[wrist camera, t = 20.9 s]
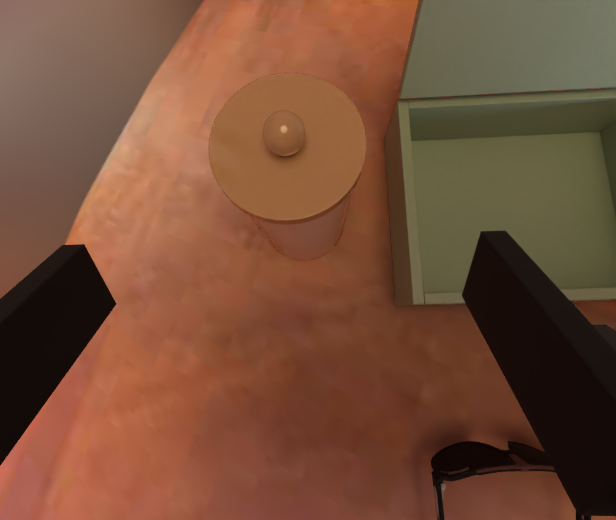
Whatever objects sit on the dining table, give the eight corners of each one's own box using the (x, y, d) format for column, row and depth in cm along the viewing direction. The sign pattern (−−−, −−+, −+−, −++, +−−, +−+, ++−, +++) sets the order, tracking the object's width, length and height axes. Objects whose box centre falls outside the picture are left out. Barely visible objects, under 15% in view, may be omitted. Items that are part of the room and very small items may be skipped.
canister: (325, 168, 31) (327, 16, 15) (361, 242, 29) (403, 162, 14) (249, 201, 30) (168, 83, 15) (281, 277, 29) (231, 237, 13)
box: (631, 300, 27) (712, 296, 22) (395, 306, 28) (413, 304, 22) (600, 128, 30) (665, 84, 24) (383, 138, 31) (397, 99, 25)
